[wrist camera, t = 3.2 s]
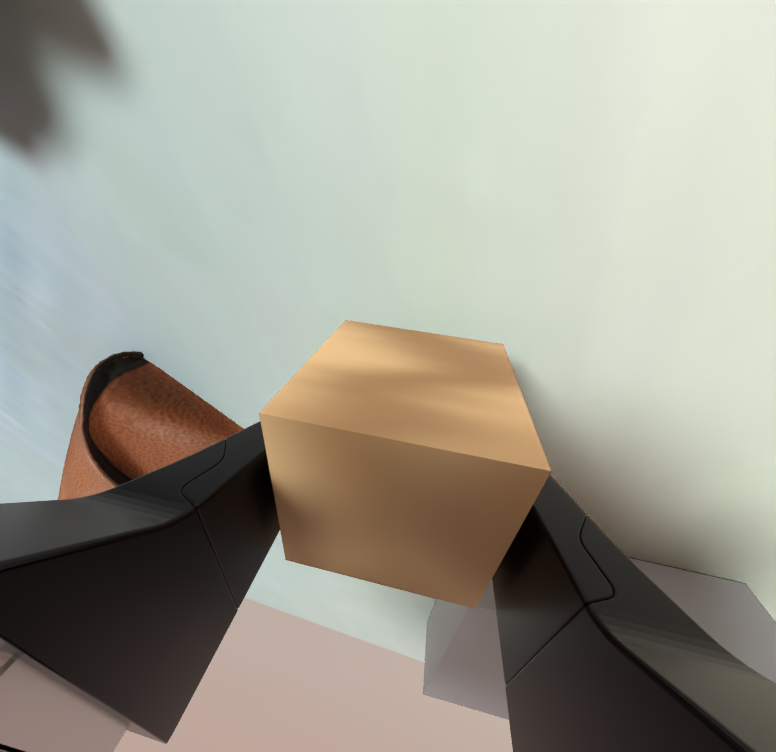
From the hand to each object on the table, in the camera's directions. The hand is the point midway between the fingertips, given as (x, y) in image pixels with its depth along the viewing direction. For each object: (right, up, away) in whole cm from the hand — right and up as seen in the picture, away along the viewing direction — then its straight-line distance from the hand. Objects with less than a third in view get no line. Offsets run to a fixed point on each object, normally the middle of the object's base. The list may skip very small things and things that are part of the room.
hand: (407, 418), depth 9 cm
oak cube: (0, +1, +1) cm, 1 cm away
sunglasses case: (-16, -5, +11) cm, 20 cm away
